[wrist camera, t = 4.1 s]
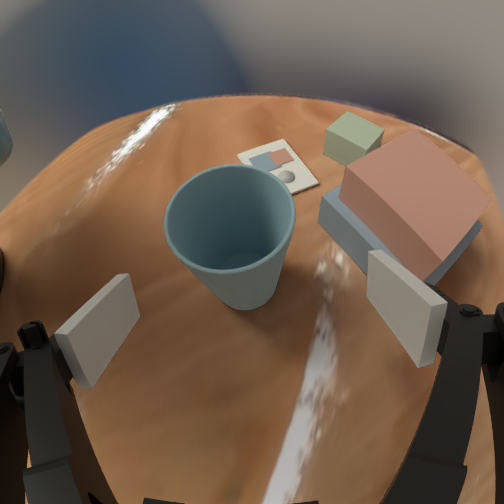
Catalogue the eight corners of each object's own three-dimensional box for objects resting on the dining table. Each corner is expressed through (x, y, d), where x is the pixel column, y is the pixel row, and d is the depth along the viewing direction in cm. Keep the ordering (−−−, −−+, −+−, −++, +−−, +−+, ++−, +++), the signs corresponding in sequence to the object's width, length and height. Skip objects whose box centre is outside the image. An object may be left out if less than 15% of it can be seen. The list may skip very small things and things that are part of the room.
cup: (251, 227, 28) (238, 146, 19) (308, 283, 25) (324, 214, 16) (187, 276, 26) (143, 210, 17) (240, 340, 23) (214, 302, 14)
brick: (322, 155, 33) (326, 129, 29) (343, 135, 34) (347, 111, 31) (359, 175, 31) (366, 150, 27) (377, 153, 32) (384, 129, 29)
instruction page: (237, 156, 33) (237, 153, 33) (283, 140, 34) (283, 138, 34) (267, 204, 29) (267, 201, 29) (318, 184, 30) (318, 181, 30)
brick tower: (317, 221, 28) (327, 163, 21) (391, 172, 30) (411, 119, 23) (400, 316, 23) (444, 281, 16) (464, 245, 25) (503, 202, 18)
